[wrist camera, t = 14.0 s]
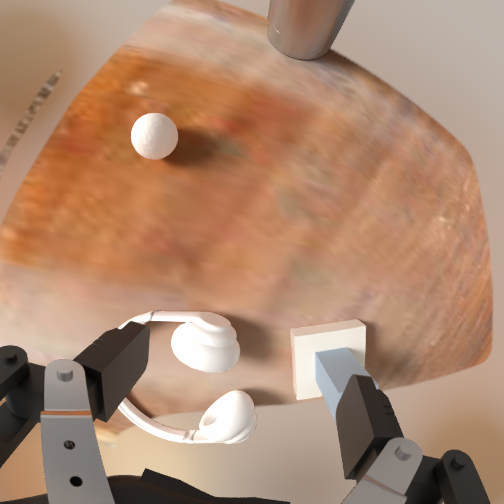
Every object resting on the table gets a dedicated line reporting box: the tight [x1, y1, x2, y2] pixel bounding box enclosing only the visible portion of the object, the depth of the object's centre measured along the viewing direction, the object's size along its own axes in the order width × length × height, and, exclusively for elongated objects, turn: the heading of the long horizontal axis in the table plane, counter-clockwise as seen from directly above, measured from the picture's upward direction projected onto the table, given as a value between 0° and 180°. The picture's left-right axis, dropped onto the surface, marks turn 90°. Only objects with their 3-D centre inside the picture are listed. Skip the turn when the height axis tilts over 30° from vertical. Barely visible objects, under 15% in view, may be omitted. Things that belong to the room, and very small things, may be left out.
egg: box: [131, 113, 178, 160], centre depth 32 cm, size 5×5×7 cm
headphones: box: [118, 310, 257, 444], centre depth 35 cm, size 20×8×20 cm
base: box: [290, 319, 366, 400], centre depth 36 cm, size 9×9×3 cm
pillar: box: [315, 347, 378, 425], centre depth 30 cm, size 4×4×10 cm
